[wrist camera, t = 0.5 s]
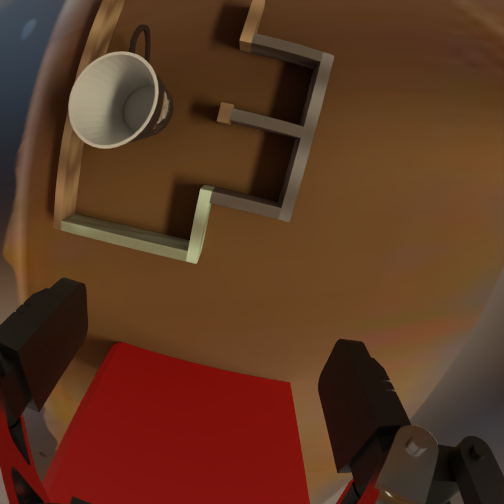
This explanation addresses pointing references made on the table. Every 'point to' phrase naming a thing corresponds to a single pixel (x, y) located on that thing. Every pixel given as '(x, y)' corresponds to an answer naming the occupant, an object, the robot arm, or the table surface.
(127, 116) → the coffee mug
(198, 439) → the book
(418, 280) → the table surface
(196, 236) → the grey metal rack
